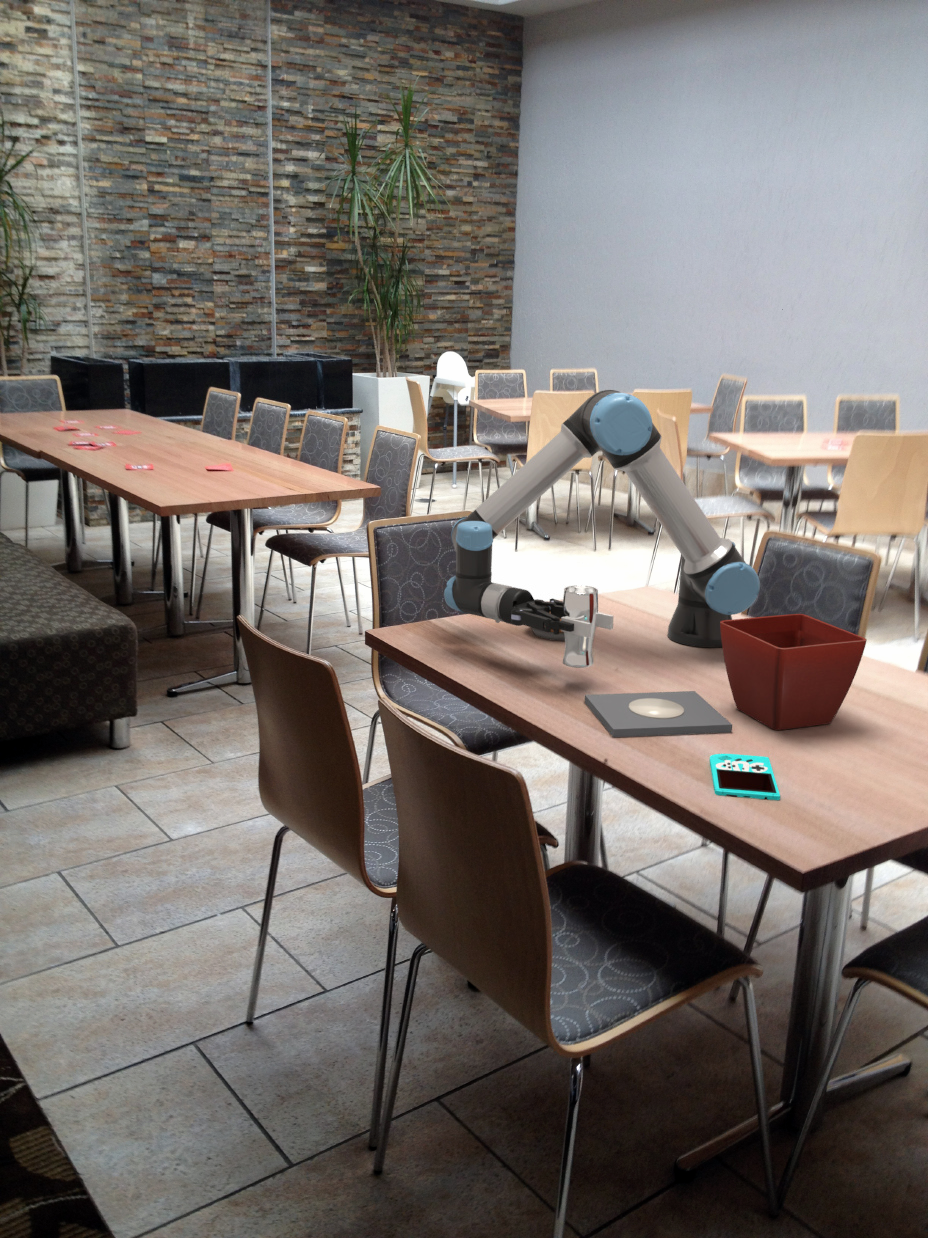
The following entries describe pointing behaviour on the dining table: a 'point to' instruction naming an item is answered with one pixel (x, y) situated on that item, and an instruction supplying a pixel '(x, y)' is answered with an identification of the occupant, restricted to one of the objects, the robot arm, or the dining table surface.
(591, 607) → the beer glass
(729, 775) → the handheld game console
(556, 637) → the pie
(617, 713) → the serving board
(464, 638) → the dining table surface
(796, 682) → the plant pot
